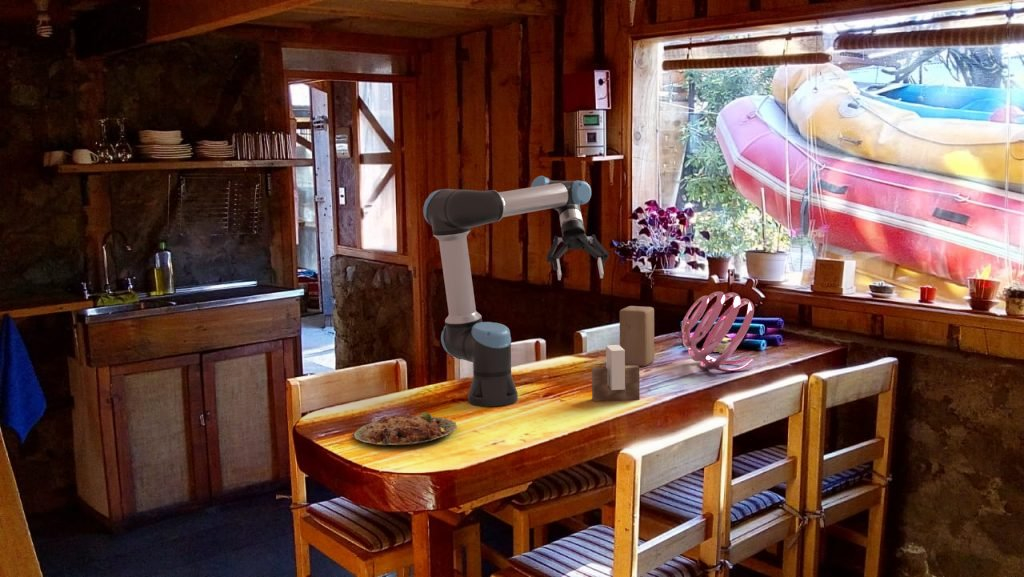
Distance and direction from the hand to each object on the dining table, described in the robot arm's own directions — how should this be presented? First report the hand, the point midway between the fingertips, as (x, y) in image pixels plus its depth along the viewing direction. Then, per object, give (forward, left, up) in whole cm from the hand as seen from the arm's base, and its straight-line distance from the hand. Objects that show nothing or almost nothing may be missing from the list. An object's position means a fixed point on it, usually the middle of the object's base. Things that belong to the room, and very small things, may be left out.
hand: (581, 276), depth 279 cm
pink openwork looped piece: (+50, +15, -36) cm, 63 cm away
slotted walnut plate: (+7, -18, -36) cm, 40 cm away
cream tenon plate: (+7, -18, -32) cm, 37 cm away
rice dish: (-56, -41, -36) cm, 78 cm away
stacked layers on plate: (+60, +40, -36) cm, 81 cm away
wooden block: (+25, +28, -36) cm, 52 cm away
